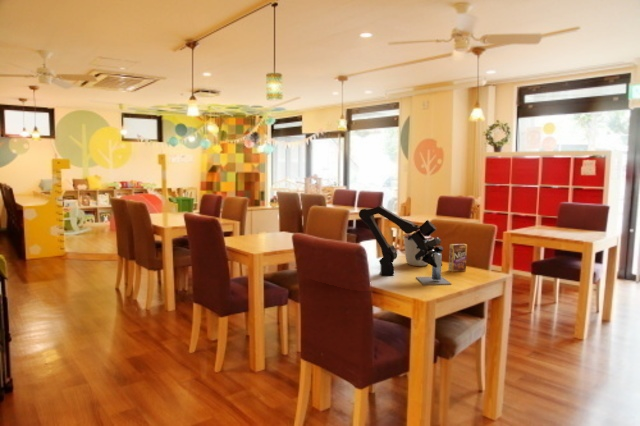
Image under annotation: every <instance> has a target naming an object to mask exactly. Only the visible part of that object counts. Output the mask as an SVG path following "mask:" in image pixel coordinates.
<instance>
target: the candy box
mask: <svg viewBox="0 0 640 426" xmlns="http://www.w3.org/2000/svg"><path fill="white" fill-rule="evenodd" d="M448 251H449V254H448V255H449V256H448V271H450V272H466V271H467V252H468V244H466V243H450V244H449V250H448Z"/></svg>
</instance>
